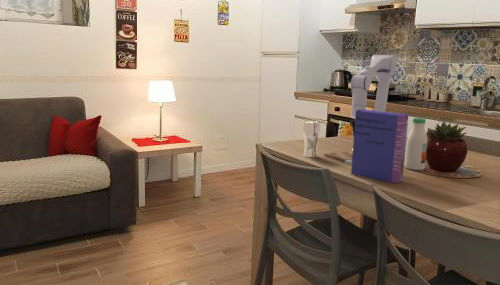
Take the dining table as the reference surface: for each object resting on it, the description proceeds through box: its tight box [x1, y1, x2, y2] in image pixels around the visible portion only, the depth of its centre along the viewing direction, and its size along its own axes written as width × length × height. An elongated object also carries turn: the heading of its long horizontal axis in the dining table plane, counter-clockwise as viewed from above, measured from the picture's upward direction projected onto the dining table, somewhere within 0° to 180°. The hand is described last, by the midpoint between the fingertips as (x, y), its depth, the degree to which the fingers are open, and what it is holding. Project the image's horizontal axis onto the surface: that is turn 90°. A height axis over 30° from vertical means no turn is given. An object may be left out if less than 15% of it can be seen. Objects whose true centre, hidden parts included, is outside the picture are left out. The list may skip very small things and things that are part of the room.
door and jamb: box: [323, 150, 352, 166], centre depth 187 cm, size 18×26×4 cm
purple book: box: [350, 109, 410, 185], centre depth 159 cm, size 17×5×24 cm, turn 50°
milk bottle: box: [403, 117, 428, 171], centre depth 176 cm, size 8×8×20 cm
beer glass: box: [303, 120, 321, 158], centre depth 192 cm, size 7×7×15 cm
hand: (356, 138), depth 182 cm, fingers closed
